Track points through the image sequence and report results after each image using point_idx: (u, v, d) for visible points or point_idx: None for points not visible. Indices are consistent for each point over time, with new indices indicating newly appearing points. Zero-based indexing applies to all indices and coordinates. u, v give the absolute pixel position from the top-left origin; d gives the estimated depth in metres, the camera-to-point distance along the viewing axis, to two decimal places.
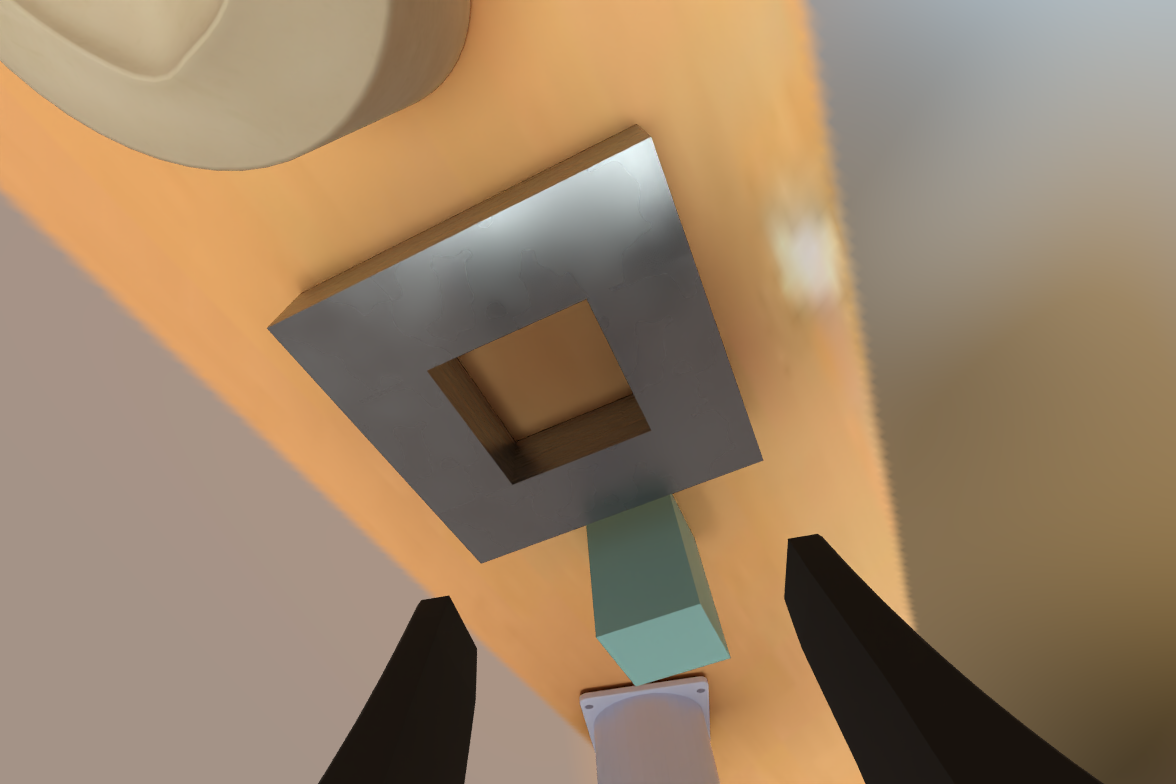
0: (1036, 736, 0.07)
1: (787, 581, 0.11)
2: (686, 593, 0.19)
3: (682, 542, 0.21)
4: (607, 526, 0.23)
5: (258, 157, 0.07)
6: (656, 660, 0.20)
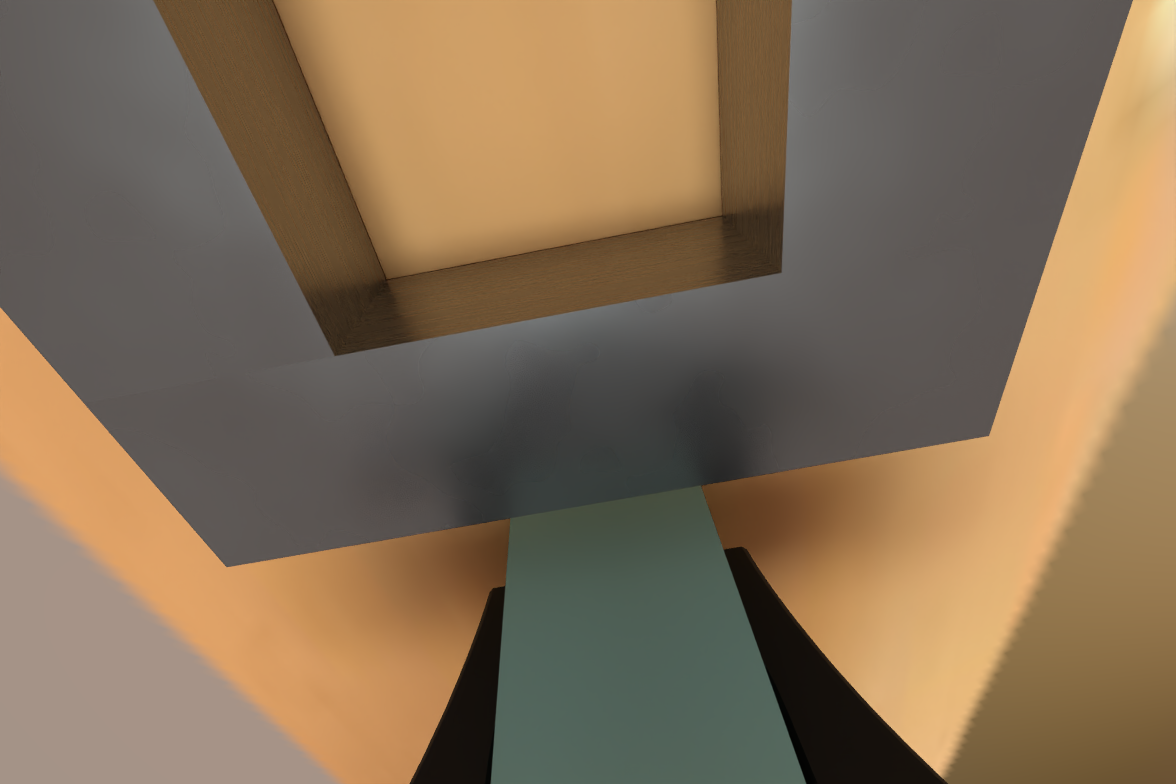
0: (914, 754, 0.07)
1: None
2: (765, 756, 0.07)
3: (739, 601, 0.09)
4: (557, 531, 0.10)
5: None
6: None
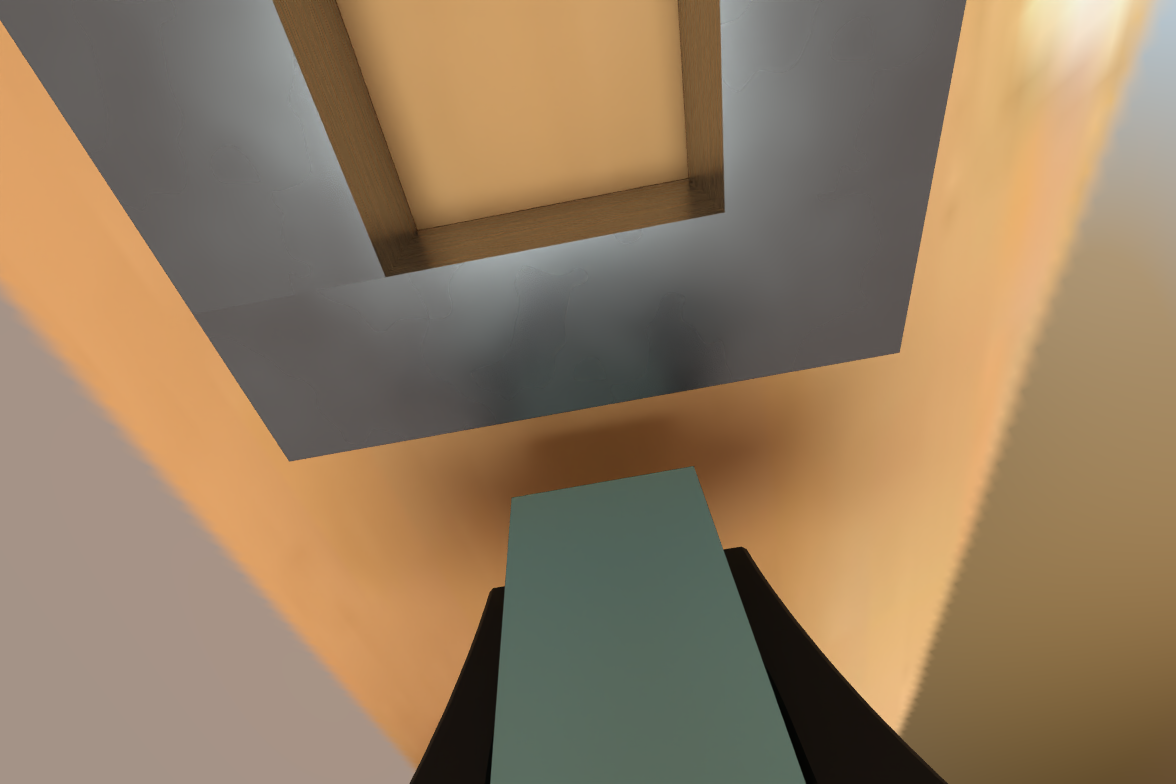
0: (914, 754, 0.07)
1: None
2: (764, 754, 0.07)
3: (738, 600, 0.09)
4: (556, 531, 0.10)
5: None
6: None
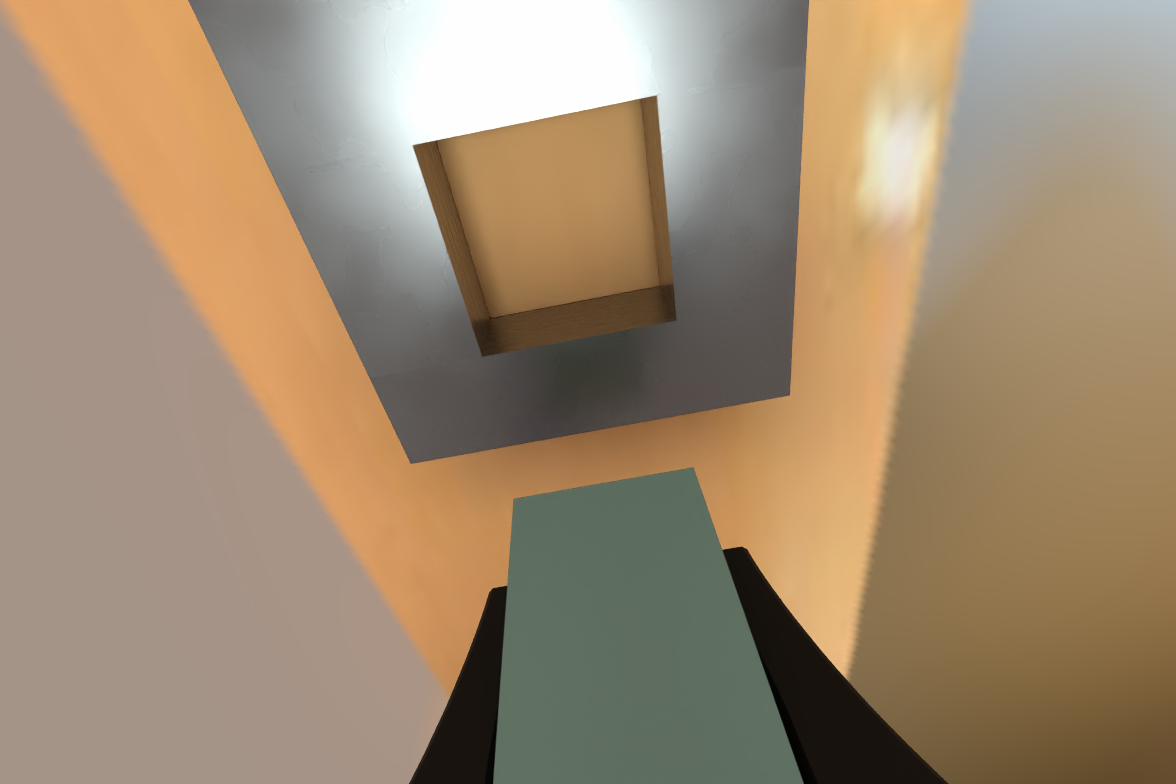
0: (914, 754, 0.07)
1: None
2: (761, 750, 0.07)
3: (737, 600, 0.09)
4: (558, 531, 0.11)
5: None
6: None
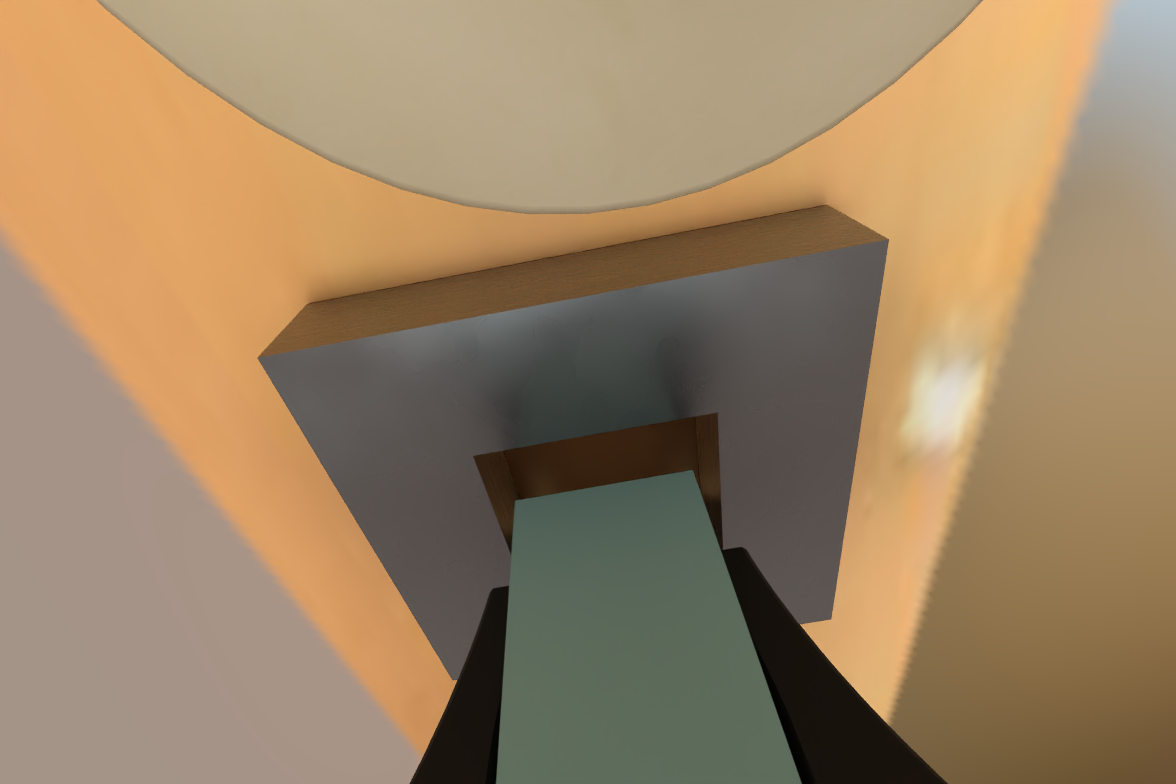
0: (914, 754, 0.07)
1: None
2: (760, 749, 0.07)
3: (736, 601, 0.09)
4: (559, 533, 0.11)
5: (534, 193, 0.03)
6: None
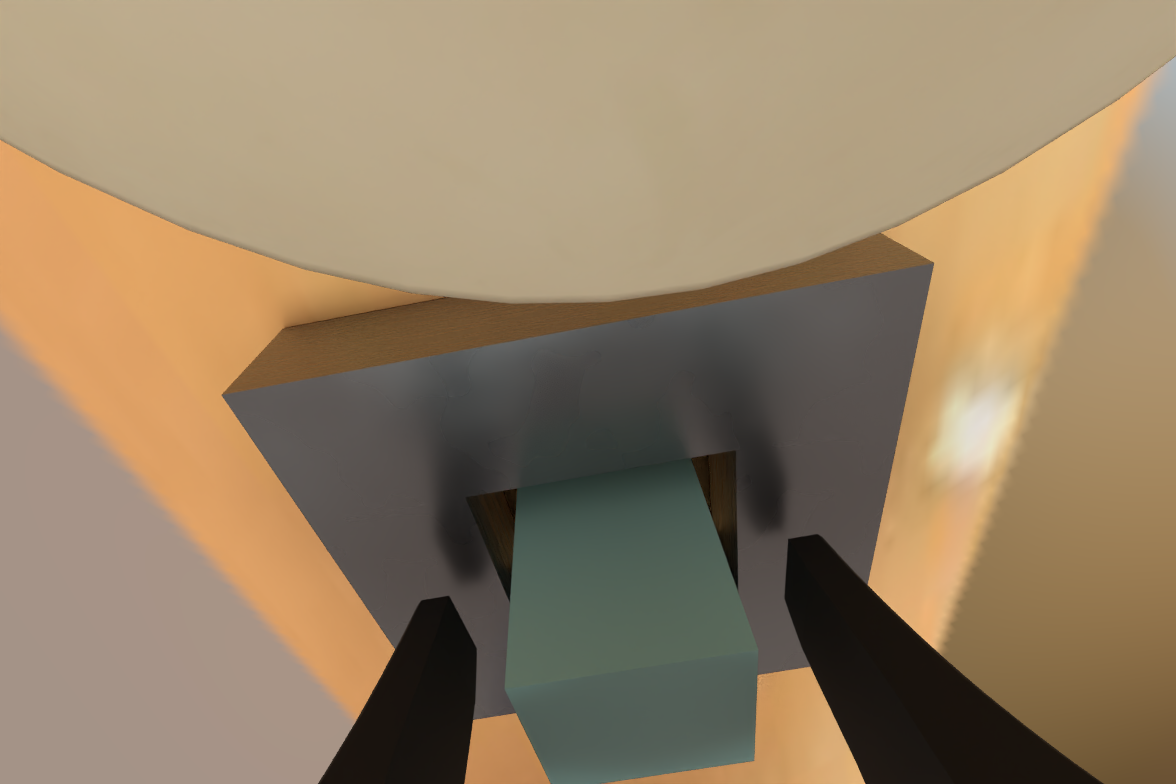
0: (1036, 736, 0.07)
1: (787, 581, 0.11)
2: (724, 621, 0.09)
3: (710, 517, 0.10)
4: None
5: (521, 281, 0.02)
6: (614, 749, 0.10)
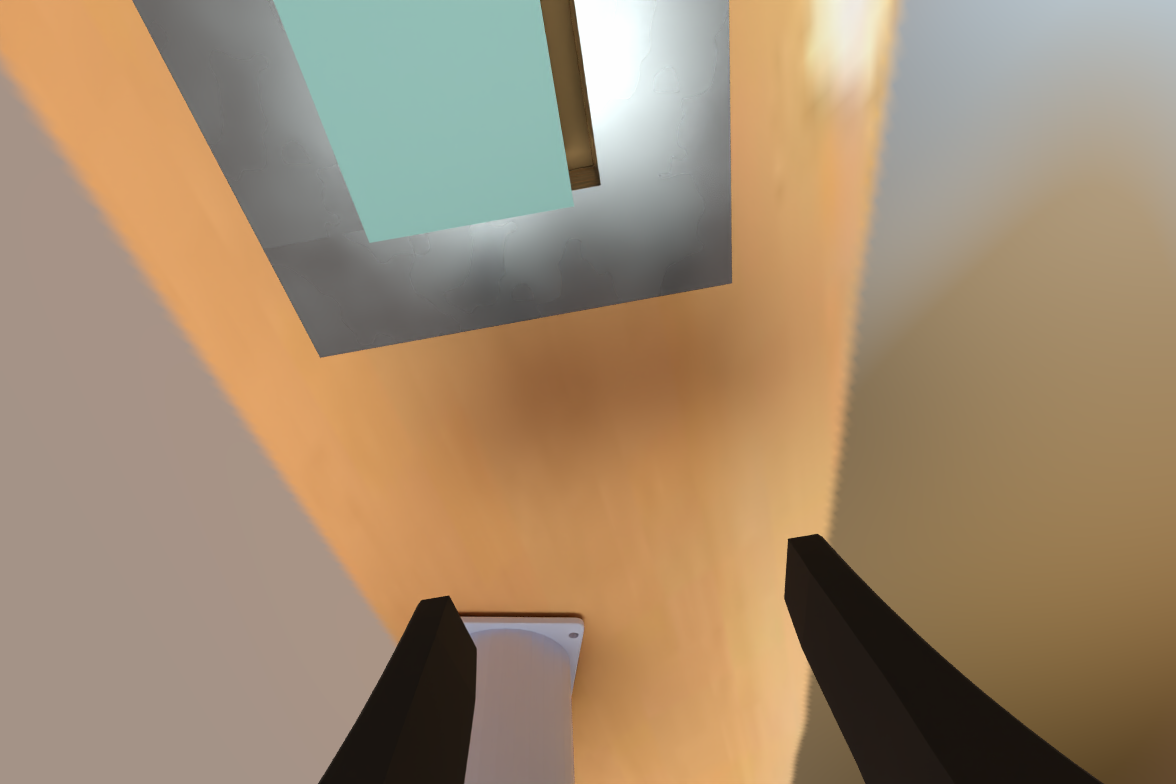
0: (1036, 736, 0.07)
1: (787, 581, 0.11)
2: None
3: None
4: None
5: None
6: (416, 153, 0.09)
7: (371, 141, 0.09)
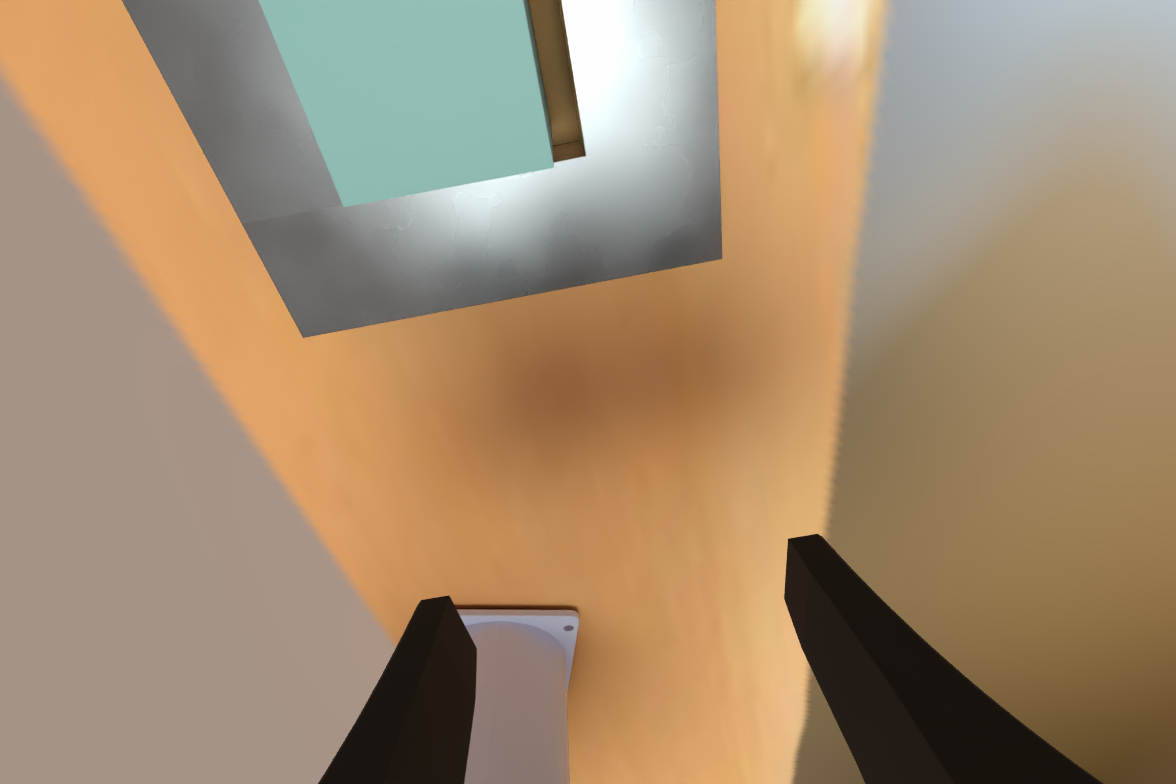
0: (1036, 736, 0.07)
1: (787, 581, 0.11)
2: None
3: None
4: None
5: None
6: (389, 111, 0.09)
7: (342, 98, 0.09)
